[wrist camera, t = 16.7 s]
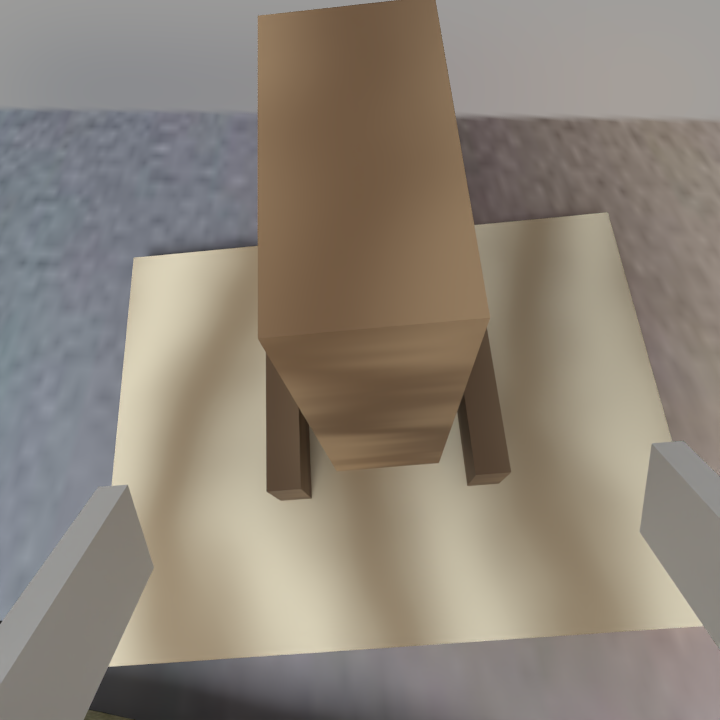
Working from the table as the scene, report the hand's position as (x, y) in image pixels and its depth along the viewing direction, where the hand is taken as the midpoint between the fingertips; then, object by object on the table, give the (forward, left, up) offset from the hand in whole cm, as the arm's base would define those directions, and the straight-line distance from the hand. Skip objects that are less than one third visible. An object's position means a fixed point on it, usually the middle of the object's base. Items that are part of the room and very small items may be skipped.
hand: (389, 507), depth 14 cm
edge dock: (0, -5, -8) cm, 9 cm away
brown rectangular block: (0, -6, -7) cm, 10 cm away
